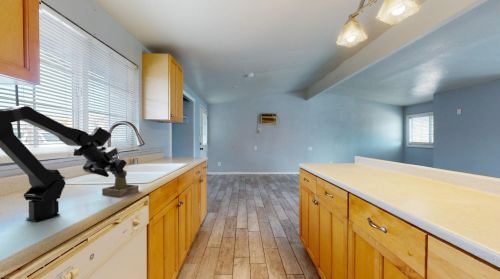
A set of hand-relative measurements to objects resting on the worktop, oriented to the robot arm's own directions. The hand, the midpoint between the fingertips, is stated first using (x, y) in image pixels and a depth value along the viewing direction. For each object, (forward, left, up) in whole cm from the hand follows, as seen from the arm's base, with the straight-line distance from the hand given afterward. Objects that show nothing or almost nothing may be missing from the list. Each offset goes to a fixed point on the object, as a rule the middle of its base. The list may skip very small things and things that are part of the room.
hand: (116, 176), depth 102 cm
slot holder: (+3, 0, -8) cm, 9 cm away
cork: (+3, 0, -8) cm, 9 cm away
